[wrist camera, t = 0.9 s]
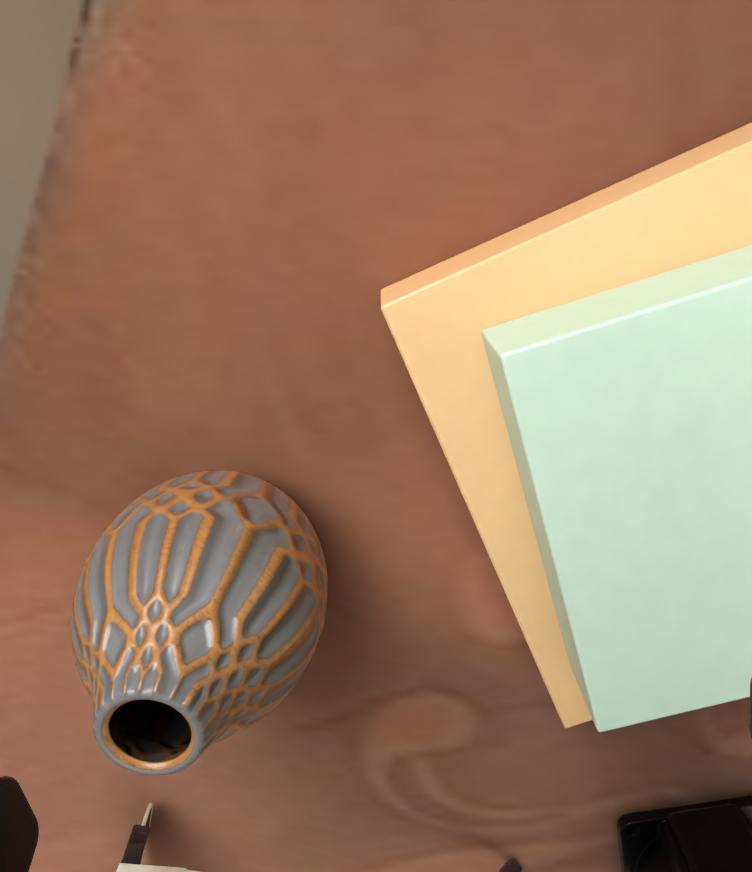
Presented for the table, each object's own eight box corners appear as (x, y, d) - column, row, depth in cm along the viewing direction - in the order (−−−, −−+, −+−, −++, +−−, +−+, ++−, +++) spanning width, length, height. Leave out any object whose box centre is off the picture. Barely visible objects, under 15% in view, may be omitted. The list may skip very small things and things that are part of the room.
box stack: (871, 549, 22) (1040, 670, 16) (541, 663, 24) (592, 806, 18) (784, 107, 17) (980, 63, 12) (379, 289, 19) (379, 327, 13)
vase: (108, 456, 21) (-67, 623, 13) (315, 427, 21) (272, 580, 12) (163, 629, 23) (46, 863, 15) (349, 606, 23) (333, 834, 15)
